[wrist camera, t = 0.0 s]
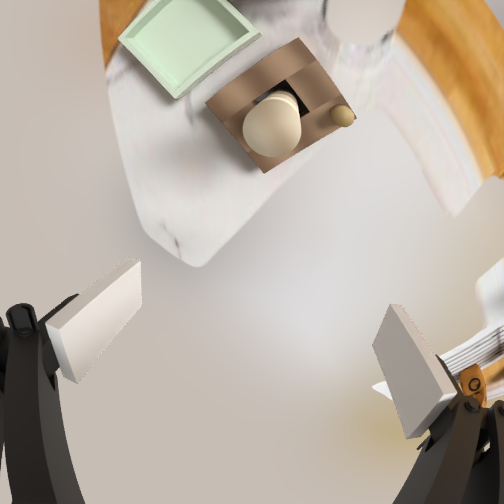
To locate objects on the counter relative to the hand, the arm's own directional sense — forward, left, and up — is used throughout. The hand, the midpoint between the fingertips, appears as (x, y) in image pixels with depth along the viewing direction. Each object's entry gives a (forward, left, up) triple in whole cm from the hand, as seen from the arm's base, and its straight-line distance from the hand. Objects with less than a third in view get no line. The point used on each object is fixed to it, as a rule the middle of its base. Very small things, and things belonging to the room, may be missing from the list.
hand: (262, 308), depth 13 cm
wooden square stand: (-3, -5, -28) cm, 28 cm away
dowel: (-3, -5, -28) cm, 29 cm away
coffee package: (-20, +99, -28) cm, 105 cm away
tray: (0, -21, -28) cm, 35 cm away
